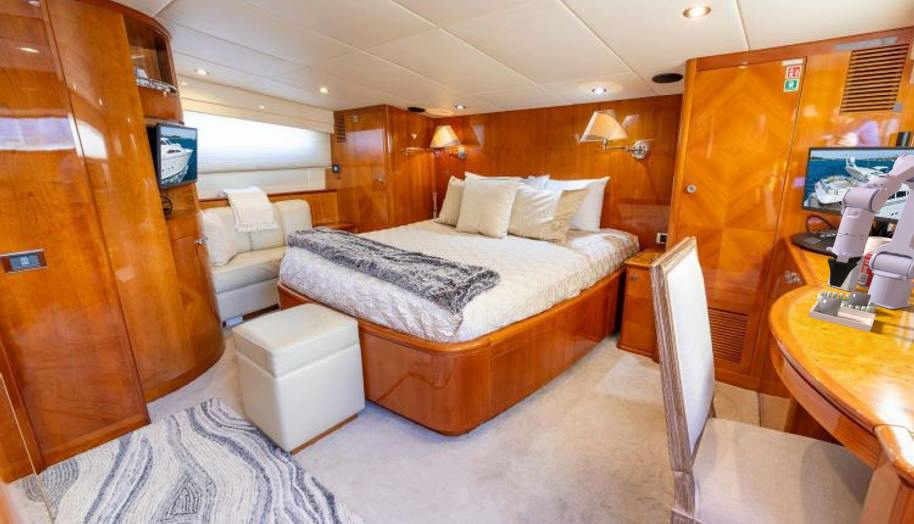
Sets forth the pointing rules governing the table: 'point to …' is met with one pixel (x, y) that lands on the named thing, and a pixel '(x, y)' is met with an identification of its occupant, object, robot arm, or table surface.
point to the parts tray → (846, 317)
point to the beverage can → (866, 272)
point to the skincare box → (851, 277)
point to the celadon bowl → (869, 308)
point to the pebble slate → (829, 306)
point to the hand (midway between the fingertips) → (837, 283)
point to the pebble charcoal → (859, 299)
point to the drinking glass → (875, 243)
